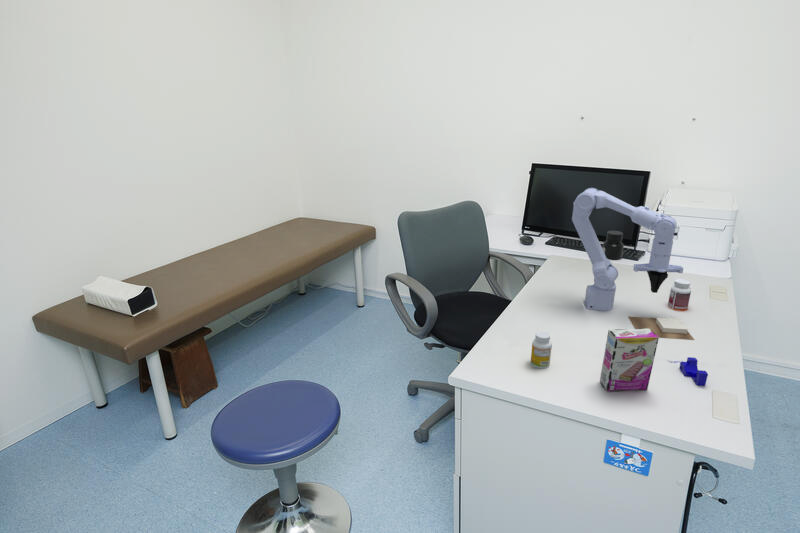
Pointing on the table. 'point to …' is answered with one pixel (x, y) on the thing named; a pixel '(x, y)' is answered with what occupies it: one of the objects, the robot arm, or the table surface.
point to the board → (656, 328)
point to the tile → (671, 325)
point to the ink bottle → (613, 245)
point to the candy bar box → (628, 359)
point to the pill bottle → (679, 295)
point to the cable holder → (693, 371)
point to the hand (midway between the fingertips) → (653, 291)
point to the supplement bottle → (541, 350)
